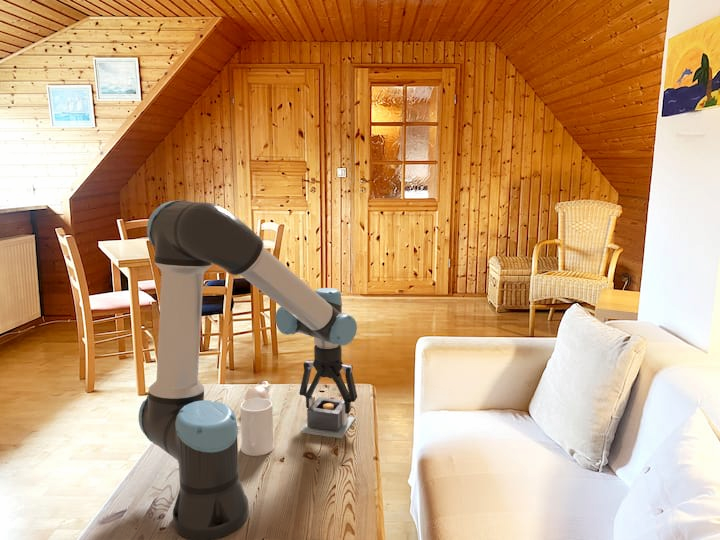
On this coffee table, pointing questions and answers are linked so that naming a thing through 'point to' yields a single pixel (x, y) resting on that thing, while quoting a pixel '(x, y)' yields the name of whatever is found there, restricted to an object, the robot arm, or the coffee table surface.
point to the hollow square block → (325, 414)
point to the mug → (257, 427)
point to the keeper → (329, 432)
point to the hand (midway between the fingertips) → (328, 421)
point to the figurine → (258, 391)
